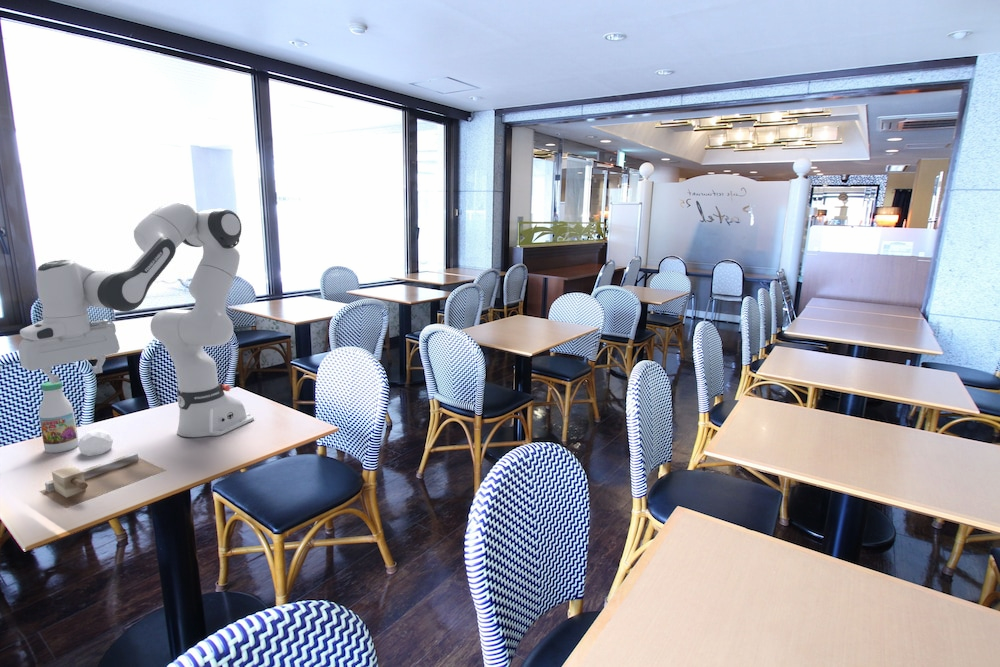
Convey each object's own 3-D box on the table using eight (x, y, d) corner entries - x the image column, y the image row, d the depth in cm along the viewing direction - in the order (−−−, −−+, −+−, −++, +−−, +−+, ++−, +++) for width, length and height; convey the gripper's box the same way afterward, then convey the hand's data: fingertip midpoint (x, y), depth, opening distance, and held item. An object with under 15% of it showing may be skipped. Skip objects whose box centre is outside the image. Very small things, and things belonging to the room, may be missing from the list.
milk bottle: (46, 446, 154) (35, 381, 150) (79, 440, 158) (69, 377, 154) (43, 456, 148) (31, 388, 144) (78, 449, 152) (67, 384, 148)
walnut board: (138, 462, 146) (137, 449, 145) (166, 475, 139) (165, 462, 138) (40, 496, 127) (38, 482, 126) (67, 513, 120) (64, 498, 119)
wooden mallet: (74, 483, 130) (71, 465, 129) (96, 496, 125) (93, 477, 124) (54, 490, 127) (51, 471, 126) (76, 503, 122) (73, 484, 121)
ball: (102, 466, 148) (96, 452, 143) (74, 456, 148) (67, 442, 142) (121, 444, 154) (117, 430, 149) (94, 435, 153) (89, 420, 148)
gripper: (107, 317, 142) (115, 365, 145) (11, 331, 125) (22, 386, 128) (119, 319, 139) (127, 369, 142) (22, 335, 122) (34, 391, 125)
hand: (77, 377), depth 135 cm, fingers open, 8 cm apart
